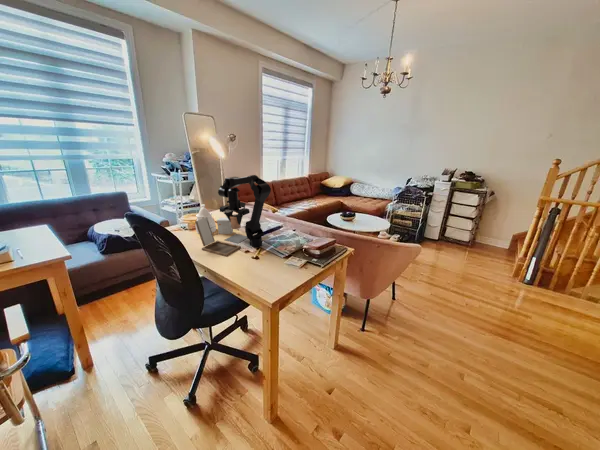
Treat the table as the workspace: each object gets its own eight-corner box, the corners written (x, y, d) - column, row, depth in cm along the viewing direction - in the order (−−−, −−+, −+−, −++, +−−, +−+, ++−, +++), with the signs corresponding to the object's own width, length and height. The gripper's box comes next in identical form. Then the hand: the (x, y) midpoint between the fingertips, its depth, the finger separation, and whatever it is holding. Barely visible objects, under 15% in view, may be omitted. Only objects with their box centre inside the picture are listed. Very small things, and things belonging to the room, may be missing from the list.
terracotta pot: (243, 226, 151) (242, 215, 148) (236, 229, 146) (235, 217, 143) (235, 225, 153) (234, 213, 151) (228, 228, 148) (227, 216, 146)
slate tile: (249, 238, 155) (249, 236, 154) (238, 244, 146) (238, 243, 145) (236, 235, 159) (236, 233, 159) (224, 241, 150) (224, 239, 150)
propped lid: (206, 217, 142) (206, 217, 142) (195, 221, 135) (194, 221, 136) (214, 241, 145) (214, 241, 145) (204, 246, 138) (203, 246, 139)
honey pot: (196, 228, 172) (192, 204, 165) (215, 226, 176) (212, 202, 170) (196, 235, 160) (192, 209, 154) (216, 232, 164) (213, 207, 158)
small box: (233, 232, 165) (231, 217, 161) (230, 235, 160) (228, 220, 156) (222, 232, 166) (220, 217, 162) (218, 235, 160) (216, 220, 157)
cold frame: (241, 249, 140) (238, 221, 134) (226, 258, 130) (222, 228, 124) (210, 241, 150) (207, 215, 144) (195, 249, 140) (190, 221, 134)
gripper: (254, 197, 146) (256, 221, 151) (230, 194, 154) (233, 217, 159) (242, 201, 137) (244, 227, 142) (217, 198, 145) (220, 223, 150)
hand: (235, 223), depth 149 cm, fingers closed on terracotta pot, 6 cm apart
